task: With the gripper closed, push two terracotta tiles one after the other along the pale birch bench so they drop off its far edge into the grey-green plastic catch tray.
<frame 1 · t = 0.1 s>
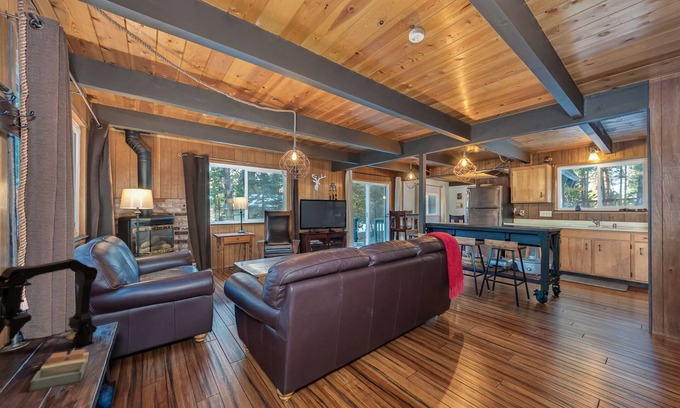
hand: (4, 336, 108), 15 cm above the table, fingers open, 9 cm apart
bench: (64, 369, 113), on the table
catch tray: (58, 380, 106), on the table
tile b: (57, 359, 113), point 4 cm above the table, touching bench
tile a: (76, 356, 116), point 4 cm above the table, touching bench
hand bell: (76, 336, 141), on the table
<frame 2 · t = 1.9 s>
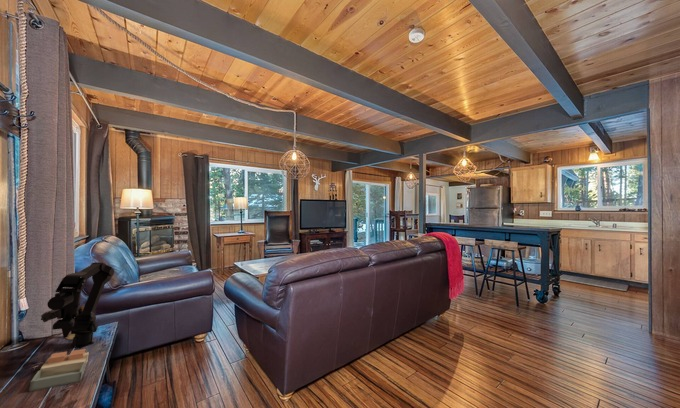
hand: (65, 337, 120), 10 cm above the table, fingers closed
nothing on the table moved.
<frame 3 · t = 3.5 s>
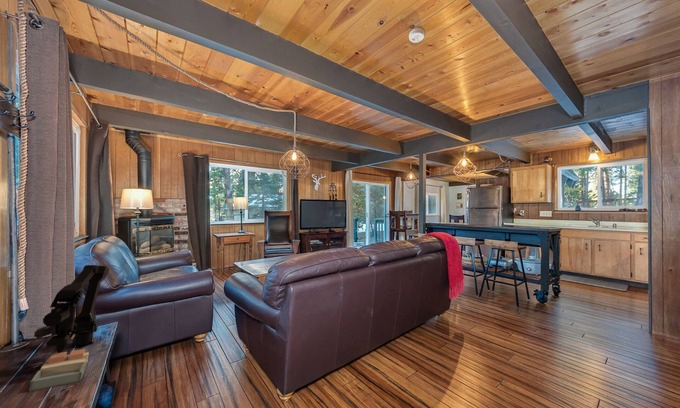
hand: (59, 353, 115), 5 cm above the table, fingers closed
tile b: (57, 359, 113), point 4 cm above the table, touching bench, gripper
everything else where it was.
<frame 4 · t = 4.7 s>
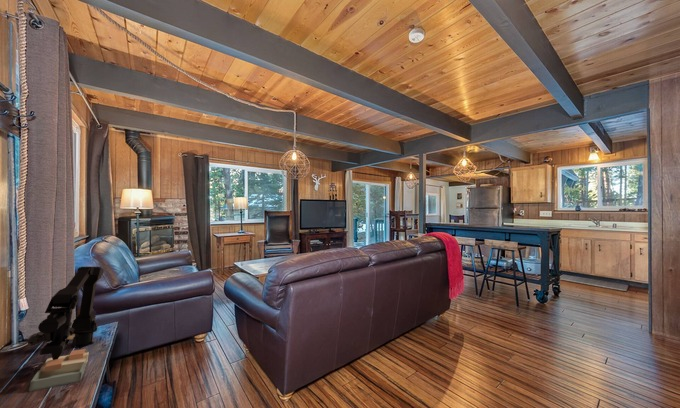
hand: (55, 360, 110), 5 cm above the table, fingers closed
tile b: (53, 367, 108), point 4 cm above the table, touching bench, gripper
everything else where it was.
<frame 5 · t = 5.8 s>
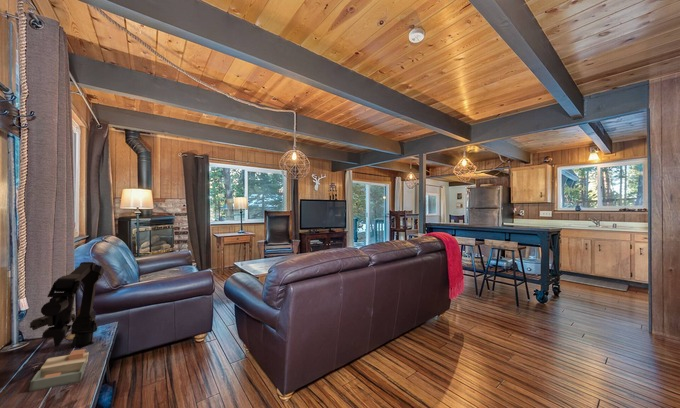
hand: (57, 346, 110), 12 cm above the table, fingers closed
tile b: (51, 376, 104), point 3 cm above the table, tilted 180°, touching catch tray
everything else where it was.
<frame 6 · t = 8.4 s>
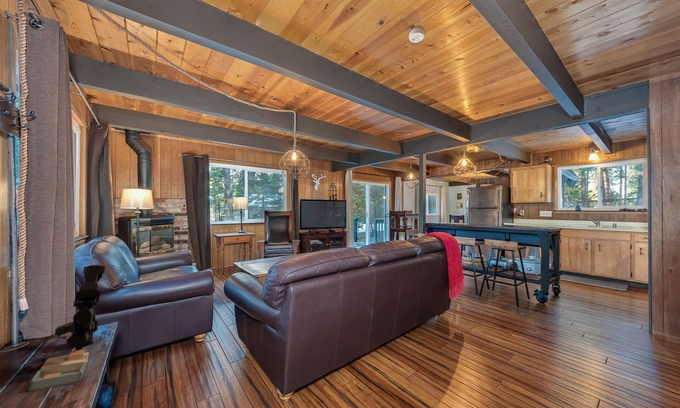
hand: (78, 351, 118), 5 cm above the table, fingers closed
tile a: (76, 357, 116), point 4 cm above the table, touching gripper
everything else where it was.
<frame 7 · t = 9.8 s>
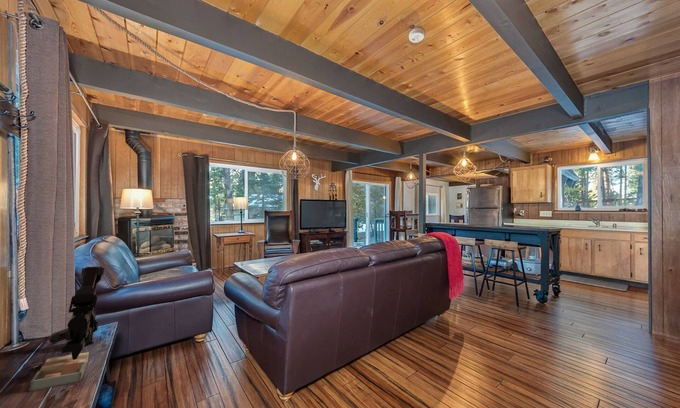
hand: (74, 359, 113), 5 cm above the table, fingers closed
tile a: (71, 366, 111), point 3 cm above the table, tilted 90°, touching catch tray
everything else where it was.
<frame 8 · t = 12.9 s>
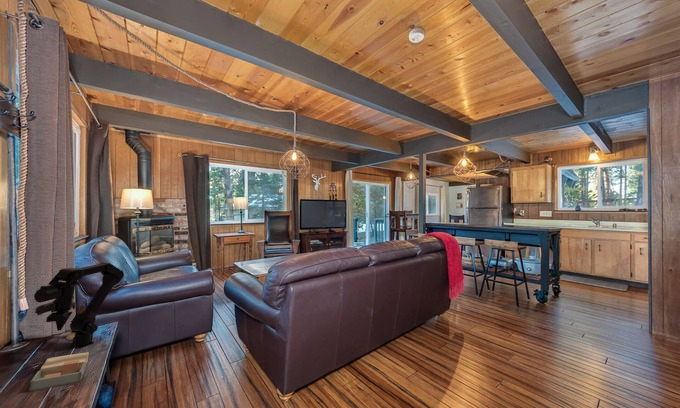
hand: (59, 330, 122), 12 cm above the table, fingers closed
nothing on the table moved.
at the end: tile a inside the target area on the catch tray (4.8 cm from its centre), point 2.8 cm above the catch tray's base; tile b inside the target area on the catch tray (2.2 cm from its centre), point 2.6 cm above the catch tray's base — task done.
